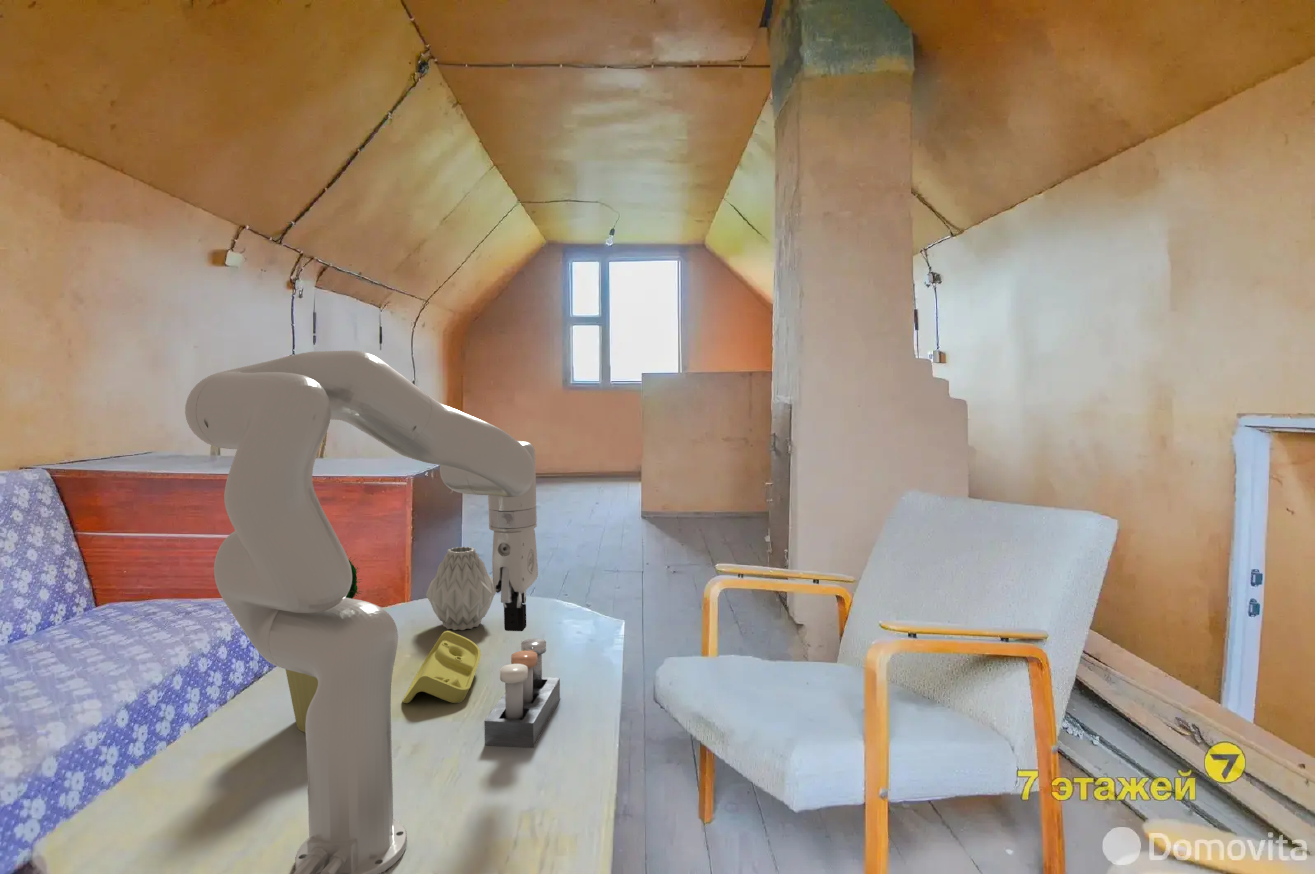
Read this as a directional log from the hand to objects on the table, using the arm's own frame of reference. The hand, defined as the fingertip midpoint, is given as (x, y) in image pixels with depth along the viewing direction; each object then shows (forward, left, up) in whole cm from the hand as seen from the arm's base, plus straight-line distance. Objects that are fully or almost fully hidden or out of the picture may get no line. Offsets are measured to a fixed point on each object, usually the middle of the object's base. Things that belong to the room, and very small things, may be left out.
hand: (515, 628), depth 118 cm
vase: (+52, +29, -18) cm, 63 cm away
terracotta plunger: (+5, 0, -15) cm, 16 cm away
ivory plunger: (-1, 0, -15) cm, 15 cm away
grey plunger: (+11, 0, -15) cm, 19 cm away
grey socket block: (+5, 0, -18) cm, 19 cm away
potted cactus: (+2, +33, -18) cm, 38 cm away
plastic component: (+19, +19, -18) cm, 33 cm away
